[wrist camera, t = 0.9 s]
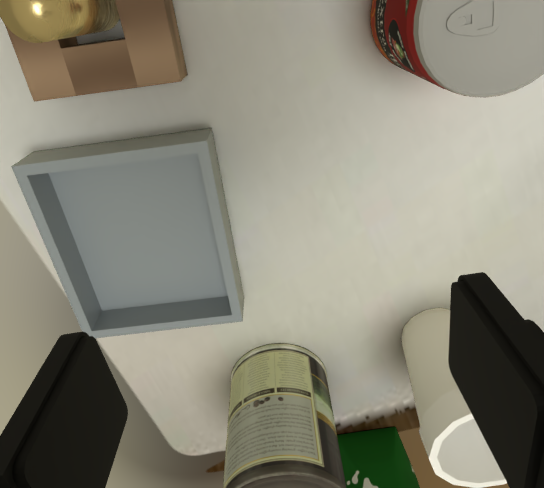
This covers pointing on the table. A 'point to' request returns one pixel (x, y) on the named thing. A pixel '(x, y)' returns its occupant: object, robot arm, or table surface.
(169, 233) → the pin tray
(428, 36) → the canned food
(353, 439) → the milk carton
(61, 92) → the pin bracket
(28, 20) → the pin
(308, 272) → the table surface
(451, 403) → the foam cup
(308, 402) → the coffee can
